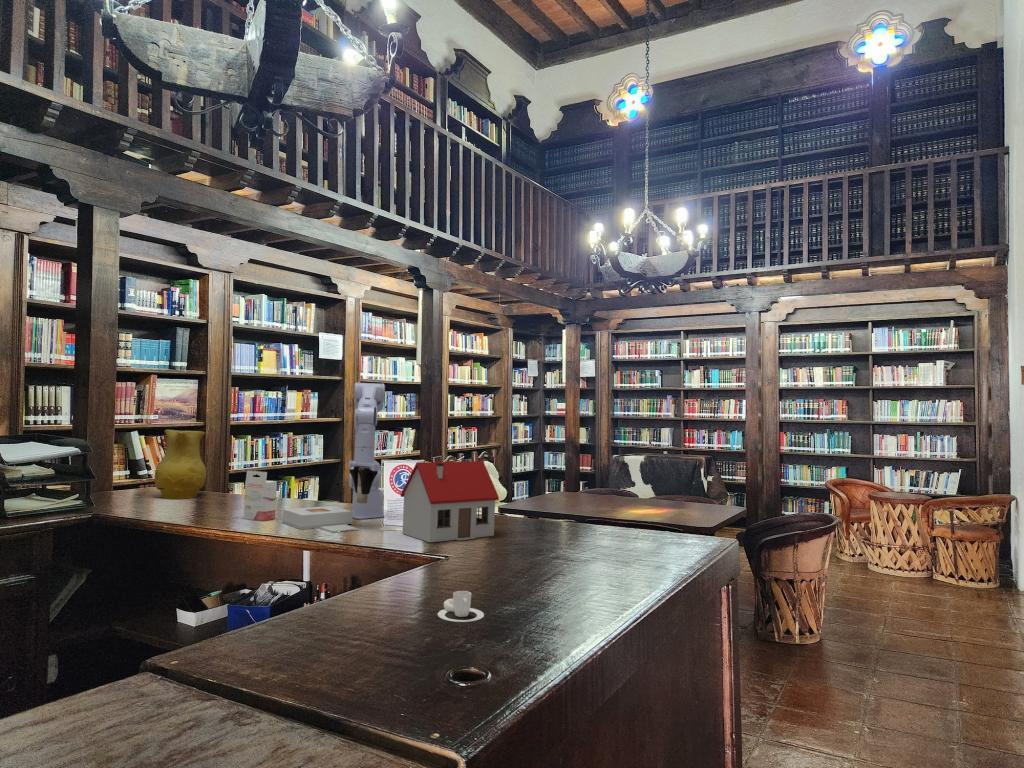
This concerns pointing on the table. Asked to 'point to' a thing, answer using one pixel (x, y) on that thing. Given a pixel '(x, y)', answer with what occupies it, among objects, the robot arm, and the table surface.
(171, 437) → the pitcher
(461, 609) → the teacup and saucer
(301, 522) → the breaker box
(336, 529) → the rest pad
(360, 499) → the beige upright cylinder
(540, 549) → the table surface
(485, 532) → the house model
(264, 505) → the ink cartridge box
